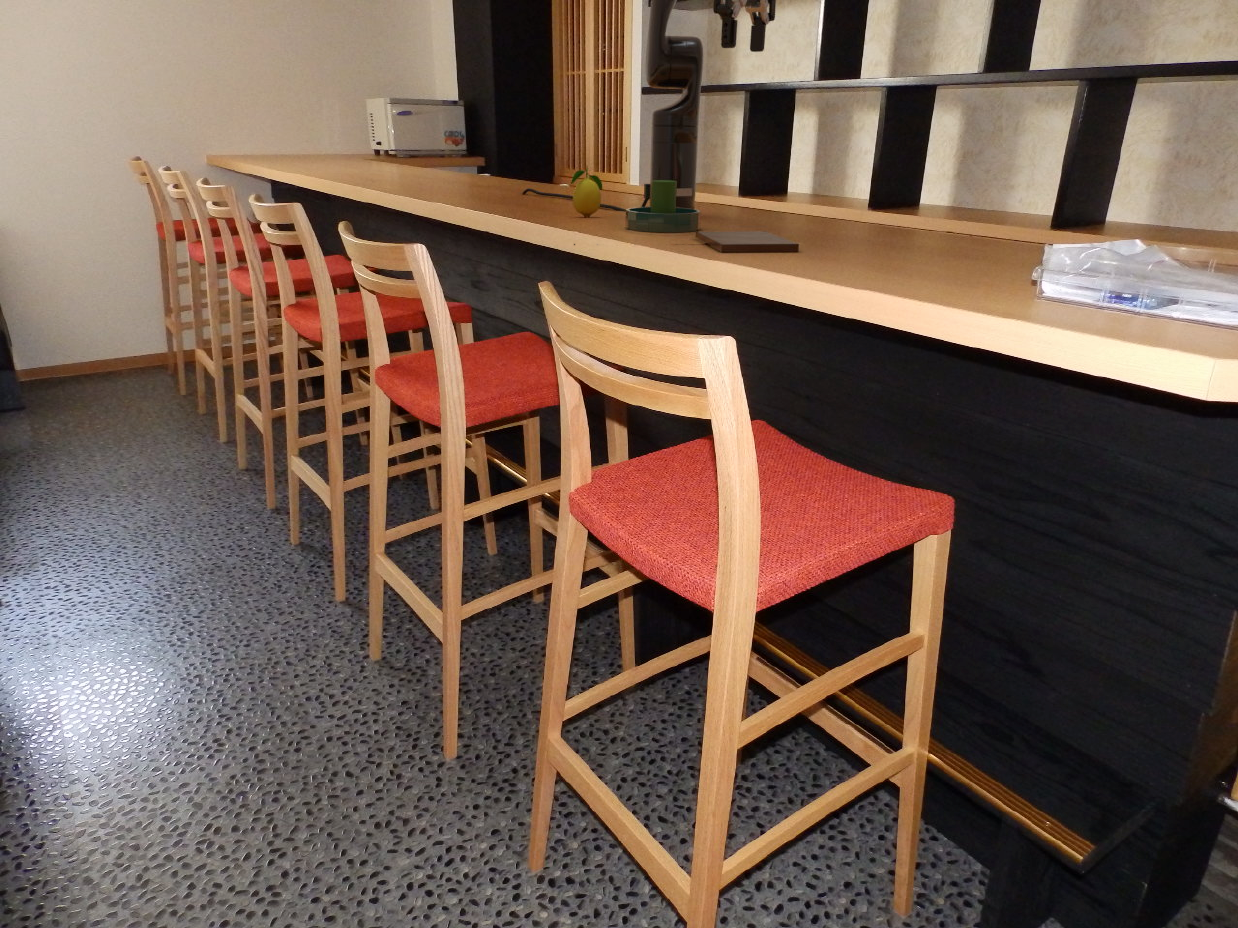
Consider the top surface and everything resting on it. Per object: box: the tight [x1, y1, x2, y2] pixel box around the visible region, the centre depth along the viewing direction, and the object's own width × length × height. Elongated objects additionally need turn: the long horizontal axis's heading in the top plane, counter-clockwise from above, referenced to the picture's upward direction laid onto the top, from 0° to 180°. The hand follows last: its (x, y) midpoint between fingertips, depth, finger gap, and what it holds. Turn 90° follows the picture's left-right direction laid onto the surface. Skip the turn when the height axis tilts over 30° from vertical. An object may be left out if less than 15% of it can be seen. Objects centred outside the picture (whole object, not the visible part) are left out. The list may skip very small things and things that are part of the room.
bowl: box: [624, 206, 702, 234], centre depth 149 cm, size 13×13×4 cm
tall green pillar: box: [651, 180, 677, 214], centre depth 148 cm, size 4×4×8 cm
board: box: [695, 230, 800, 253], centre depth 132 cm, size 16×12×1 cm
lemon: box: [570, 165, 603, 218], centre depth 165 cm, size 7×6×10 cm
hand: (742, 50), depth 130 cm, fingers open, 8 cm apart
